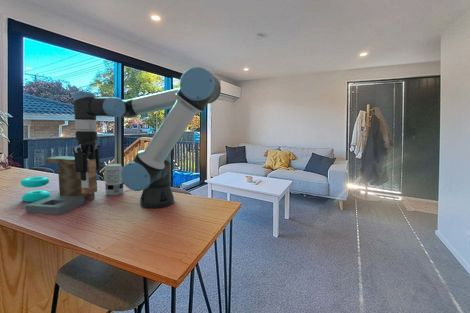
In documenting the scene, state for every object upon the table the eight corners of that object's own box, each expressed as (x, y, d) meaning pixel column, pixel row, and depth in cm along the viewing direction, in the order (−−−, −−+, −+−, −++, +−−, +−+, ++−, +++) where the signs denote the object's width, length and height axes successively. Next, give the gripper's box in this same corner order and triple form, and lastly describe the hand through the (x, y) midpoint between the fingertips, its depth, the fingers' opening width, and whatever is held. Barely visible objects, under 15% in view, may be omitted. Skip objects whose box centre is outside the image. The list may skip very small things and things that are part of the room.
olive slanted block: (94, 198, 114) (93, 157, 112) (82, 204, 106) (79, 160, 103) (63, 196, 116) (60, 155, 113) (48, 202, 107) (45, 158, 105)
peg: (97, 191, 103) (95, 159, 101) (91, 193, 99) (89, 160, 97) (88, 190, 103) (86, 158, 101) (81, 193, 99) (79, 160, 98)
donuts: (52, 175, 115) (42, 180, 106) (54, 195, 116) (44, 202, 107) (27, 176, 112) (15, 181, 103) (29, 196, 114) (17, 203, 104)
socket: (84, 203, 108) (84, 196, 107) (59, 214, 94) (58, 207, 93) (55, 201, 109) (54, 195, 108) (26, 212, 95) (25, 205, 94)
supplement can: (102, 193, 122) (101, 165, 120) (116, 190, 130) (116, 163, 128) (112, 196, 119) (111, 166, 117) (126, 192, 126) (126, 164, 124)
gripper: (91, 130, 107) (94, 181, 110) (60, 130, 90) (65, 191, 93) (107, 130, 106) (110, 181, 109) (79, 131, 89) (83, 192, 92)
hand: (89, 186), depth 101 cm, fingers closed on peg, 4 cm apart
